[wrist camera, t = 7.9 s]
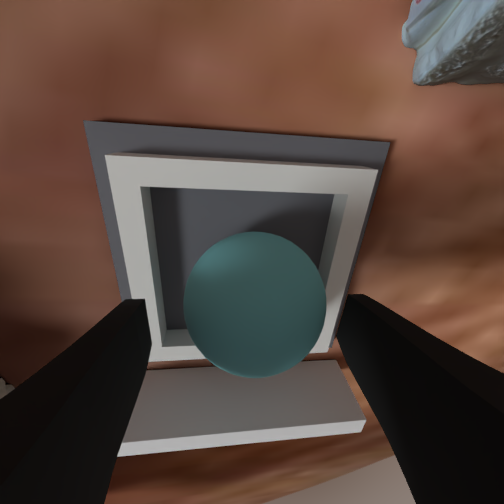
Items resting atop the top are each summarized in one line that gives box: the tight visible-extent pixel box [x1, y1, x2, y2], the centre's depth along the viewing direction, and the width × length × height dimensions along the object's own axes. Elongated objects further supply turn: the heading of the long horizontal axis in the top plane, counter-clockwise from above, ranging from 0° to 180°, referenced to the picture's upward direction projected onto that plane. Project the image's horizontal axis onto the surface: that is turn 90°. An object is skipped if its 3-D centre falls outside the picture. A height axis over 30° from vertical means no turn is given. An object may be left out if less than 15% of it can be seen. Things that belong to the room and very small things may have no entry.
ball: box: [183, 232, 327, 378], centre depth 10 cm, size 6×6×6 cm
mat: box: [83, 120, 390, 362], centre depth 12 cm, size 12×12×2 cm
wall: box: [117, 360, 366, 457], centre depth 15 cm, size 14×1×4 cm, turn 86°
